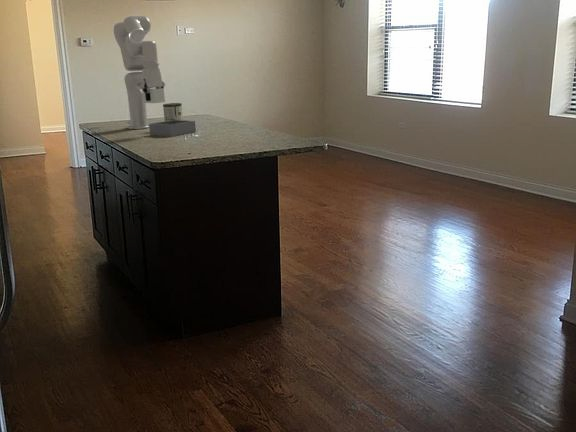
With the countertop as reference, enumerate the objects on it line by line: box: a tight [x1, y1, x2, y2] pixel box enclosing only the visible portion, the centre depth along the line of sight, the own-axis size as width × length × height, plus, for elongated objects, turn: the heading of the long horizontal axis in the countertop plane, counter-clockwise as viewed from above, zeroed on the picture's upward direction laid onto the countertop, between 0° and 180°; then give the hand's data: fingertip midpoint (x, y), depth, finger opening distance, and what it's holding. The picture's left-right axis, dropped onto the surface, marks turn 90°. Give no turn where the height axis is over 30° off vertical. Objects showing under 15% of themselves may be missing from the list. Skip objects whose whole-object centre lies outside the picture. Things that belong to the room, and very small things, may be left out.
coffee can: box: [162, 102, 184, 121], centre depth 356 cm, size 10×10×14 cm
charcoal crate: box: [148, 119, 197, 137], centre depth 338 cm, size 16×18×6 cm
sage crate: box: [141, 88, 166, 104], centre depth 334 cm, size 9×7×7 cm
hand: (154, 99), depth 335 cm, fingers closed on sage crate, 7 cm apart
